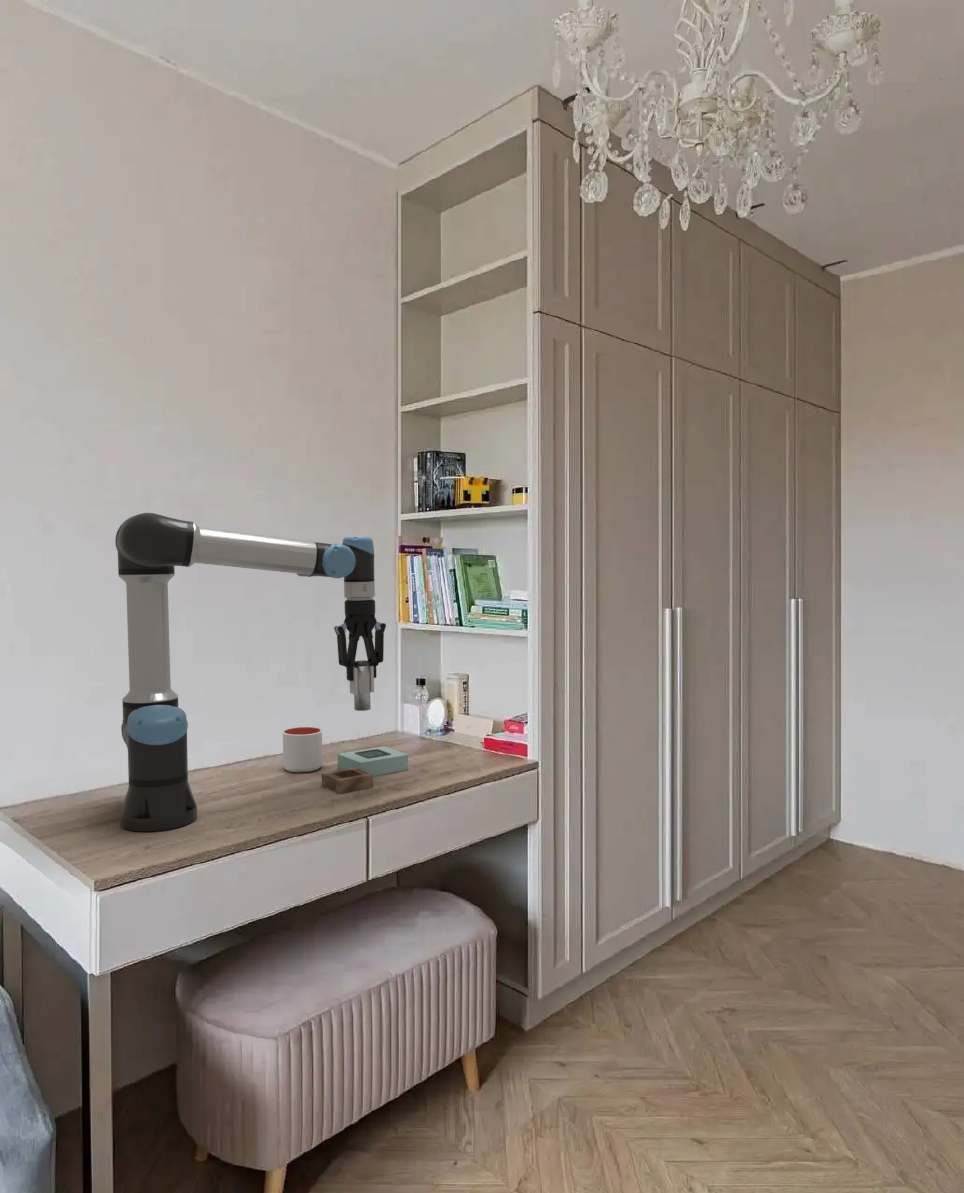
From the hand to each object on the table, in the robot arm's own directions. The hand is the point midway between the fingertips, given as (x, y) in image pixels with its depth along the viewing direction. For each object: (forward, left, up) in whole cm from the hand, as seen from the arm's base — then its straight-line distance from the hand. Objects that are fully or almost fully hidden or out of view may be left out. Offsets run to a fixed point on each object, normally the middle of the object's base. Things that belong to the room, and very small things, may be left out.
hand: (362, 692), depth 209 cm
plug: (0, 0, -4) cm, 4 cm away
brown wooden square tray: (-7, -4, -22) cm, 23 cm away
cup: (-8, +18, -22) cm, 29 cm away
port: (+6, +6, -22) cm, 23 cm away
